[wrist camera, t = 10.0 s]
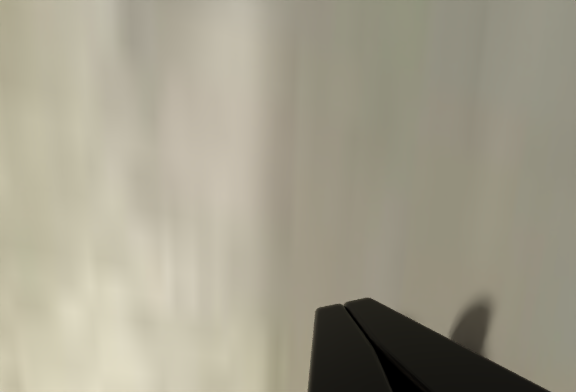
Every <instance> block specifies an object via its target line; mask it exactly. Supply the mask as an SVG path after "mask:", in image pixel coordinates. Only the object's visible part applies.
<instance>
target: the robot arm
mask: <svg viewBox="0 0 576 392" xmlns="http://www.w3.org/2000/svg"><path fill="white" fill-rule="evenodd" d="M308 392H550V391H548V390H546V389H544V388H543V387H541V386H539V385H537V384H535V383H533V382H531V381H529V380H527V379H525V378H523V377H521V376H519V375H518V374H516V373H514V372H512V371H510V370H508V369H506V368H504V367H502V366H500V365H498V364H496V363H495V362H493V361H491V360H489V359H487V358H485V357H483V356H481V355H479V354H477V353H475V352H473V351H471V350H470V349H468V348H466V347H464V346H462V345H460V344H458V343H456V342H454V341H452V340H450V339H448V338H446V337H445V336H443V335H441V334H439V333H437V332H435V331H433V330H431V329H429V328H427V327H425V326H423V325H421V324H420V323H418V322H416V321H414V320H412V319H410V318H408V317H406V316H404V315H402V314H400V313H398V312H396V311H395V310H393V309H391V308H389V307H387V306H385V305H383V304H381V303H379V302H377V301H375V300H373V299H371V298H363V299H358V300H353V301H349V302H346V303H345V304H344V305H342V304H334V305H330V306H325V307H320V308H318V309H316V311H315V320H314V330H313V340H312V351H311V361H310V372H309V382H308Z"/></svg>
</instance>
